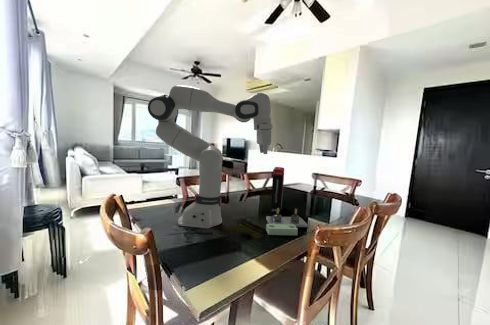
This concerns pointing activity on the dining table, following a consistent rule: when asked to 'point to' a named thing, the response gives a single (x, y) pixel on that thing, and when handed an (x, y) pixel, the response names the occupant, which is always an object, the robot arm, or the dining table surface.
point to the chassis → (286, 219)
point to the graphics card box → (277, 189)
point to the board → (281, 229)
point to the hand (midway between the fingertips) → (263, 153)
